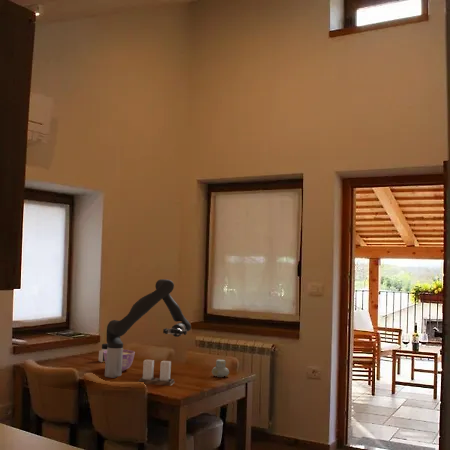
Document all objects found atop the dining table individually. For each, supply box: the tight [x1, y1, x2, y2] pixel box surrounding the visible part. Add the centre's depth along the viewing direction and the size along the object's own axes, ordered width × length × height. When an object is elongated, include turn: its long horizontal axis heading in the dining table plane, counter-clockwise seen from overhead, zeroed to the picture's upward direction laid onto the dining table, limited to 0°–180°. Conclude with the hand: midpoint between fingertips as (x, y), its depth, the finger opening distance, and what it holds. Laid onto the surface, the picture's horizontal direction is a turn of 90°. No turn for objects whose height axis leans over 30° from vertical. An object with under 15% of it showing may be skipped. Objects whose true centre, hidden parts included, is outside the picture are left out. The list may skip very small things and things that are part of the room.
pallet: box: [138, 376, 176, 386], centre depth 315 cm, size 20×11×3 cm, turn 84°
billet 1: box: [142, 359, 155, 381], centre depth 316 cm, size 5×5×12 cm
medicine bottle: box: [98, 343, 108, 363], centre depth 378 cm, size 7×7×12 cm
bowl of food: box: [103, 349, 136, 372], centre depth 350 cm, size 20×20×12 cm
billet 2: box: [159, 360, 172, 382], centre depth 315 cm, size 5×5×12 cm
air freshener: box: [211, 359, 230, 378], centre depth 346 cm, size 11×8×10 cm
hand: (172, 332), depth 333 cm, fingers open, 8 cm apart
